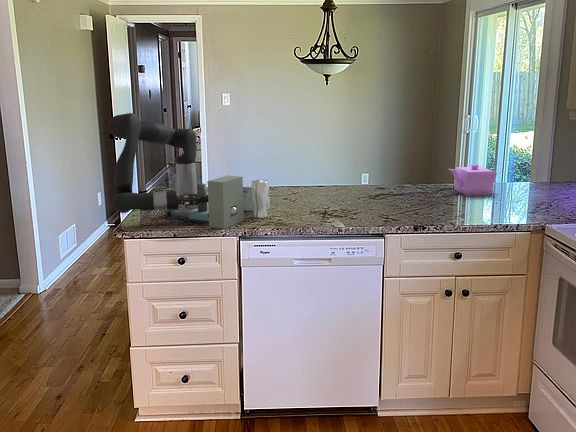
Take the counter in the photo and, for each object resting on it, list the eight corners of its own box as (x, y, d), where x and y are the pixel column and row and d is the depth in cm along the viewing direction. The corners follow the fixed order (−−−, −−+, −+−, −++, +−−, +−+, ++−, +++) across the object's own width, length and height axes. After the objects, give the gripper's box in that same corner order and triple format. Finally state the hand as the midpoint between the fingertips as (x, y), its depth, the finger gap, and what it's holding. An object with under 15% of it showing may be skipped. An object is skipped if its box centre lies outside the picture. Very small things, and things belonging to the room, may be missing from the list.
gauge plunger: (212, 214, 221) (211, 204, 220) (217, 212, 224) (217, 202, 223) (232, 217, 216) (232, 207, 215) (238, 215, 220) (238, 205, 219)
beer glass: (251, 214, 235) (250, 179, 231) (268, 214, 235) (267, 179, 232) (252, 218, 228) (251, 182, 225) (269, 218, 229) (268, 182, 225)
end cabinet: (208, 226, 217) (206, 180, 212) (228, 218, 229) (226, 175, 224) (224, 228, 213) (222, 182, 209) (243, 220, 225) (242, 176, 221)
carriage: (187, 218, 225) (185, 184, 222) (198, 215, 231) (196, 181, 228) (210, 221, 220) (208, 187, 217) (220, 217, 226) (218, 184, 223)
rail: (165, 217, 232) (164, 210, 231) (173, 214, 236) (172, 207, 235) (214, 223, 220) (214, 216, 220) (222, 221, 225) (221, 213, 224)
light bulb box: (270, 208, 245) (269, 184, 243) (264, 212, 239) (264, 187, 237) (247, 207, 249) (247, 183, 246) (241, 210, 243) (241, 186, 240)
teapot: (440, 190, 282) (442, 162, 279) (487, 188, 285) (490, 161, 281) (452, 196, 268) (454, 167, 264) (502, 194, 270) (504, 166, 267)
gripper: (165, 194, 213) (210, 192, 217) (165, 188, 227) (207, 186, 230) (166, 213, 215) (211, 211, 219) (166, 206, 228) (208, 203, 232)
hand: (209, 198), depth 224 cm, fingers closed on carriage, 3 cm apart
